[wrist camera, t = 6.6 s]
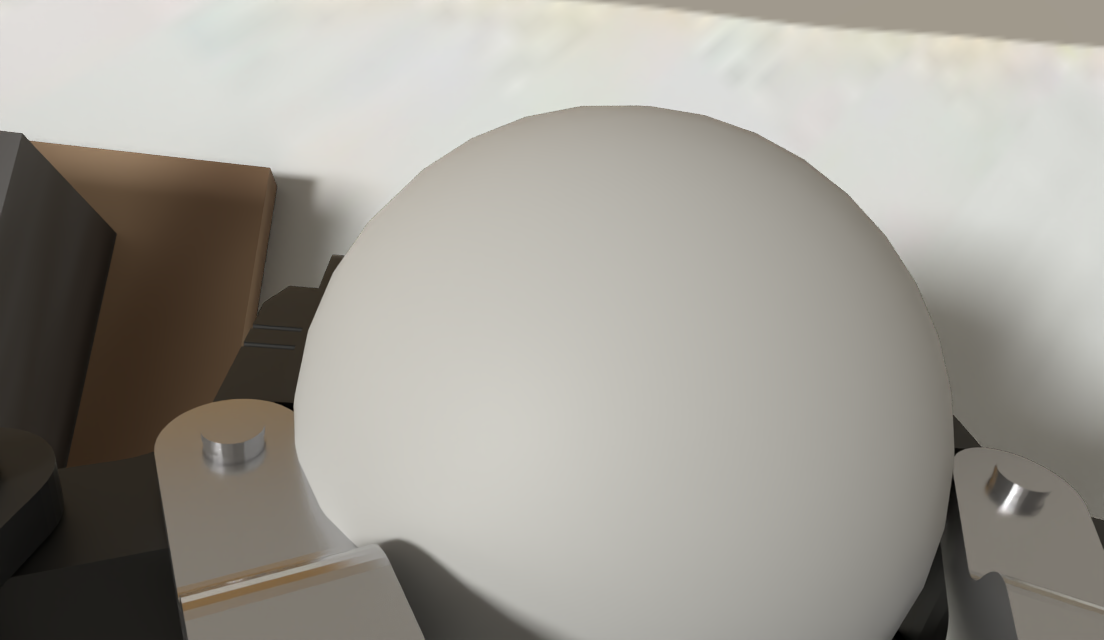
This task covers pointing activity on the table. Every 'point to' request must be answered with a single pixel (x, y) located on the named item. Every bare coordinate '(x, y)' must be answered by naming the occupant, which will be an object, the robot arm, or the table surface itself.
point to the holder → (122, 290)
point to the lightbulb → (631, 391)
